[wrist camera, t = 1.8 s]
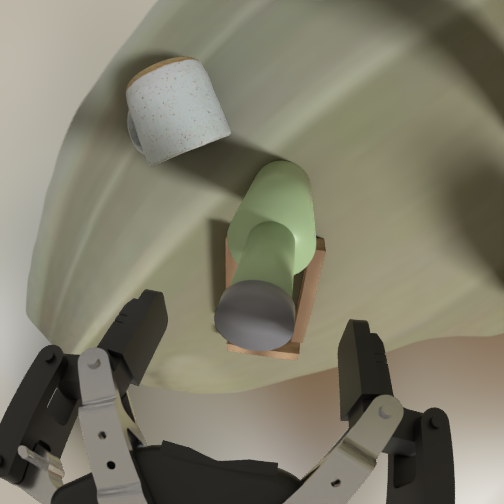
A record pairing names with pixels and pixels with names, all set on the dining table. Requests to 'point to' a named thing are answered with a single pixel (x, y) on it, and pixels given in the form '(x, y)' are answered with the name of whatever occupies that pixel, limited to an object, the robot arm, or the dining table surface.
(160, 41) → the dining table surface
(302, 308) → the rest
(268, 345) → the bottle
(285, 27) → the dining table surface
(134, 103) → the ceramic mug
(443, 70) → the dining table surface
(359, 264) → the dining table surface
